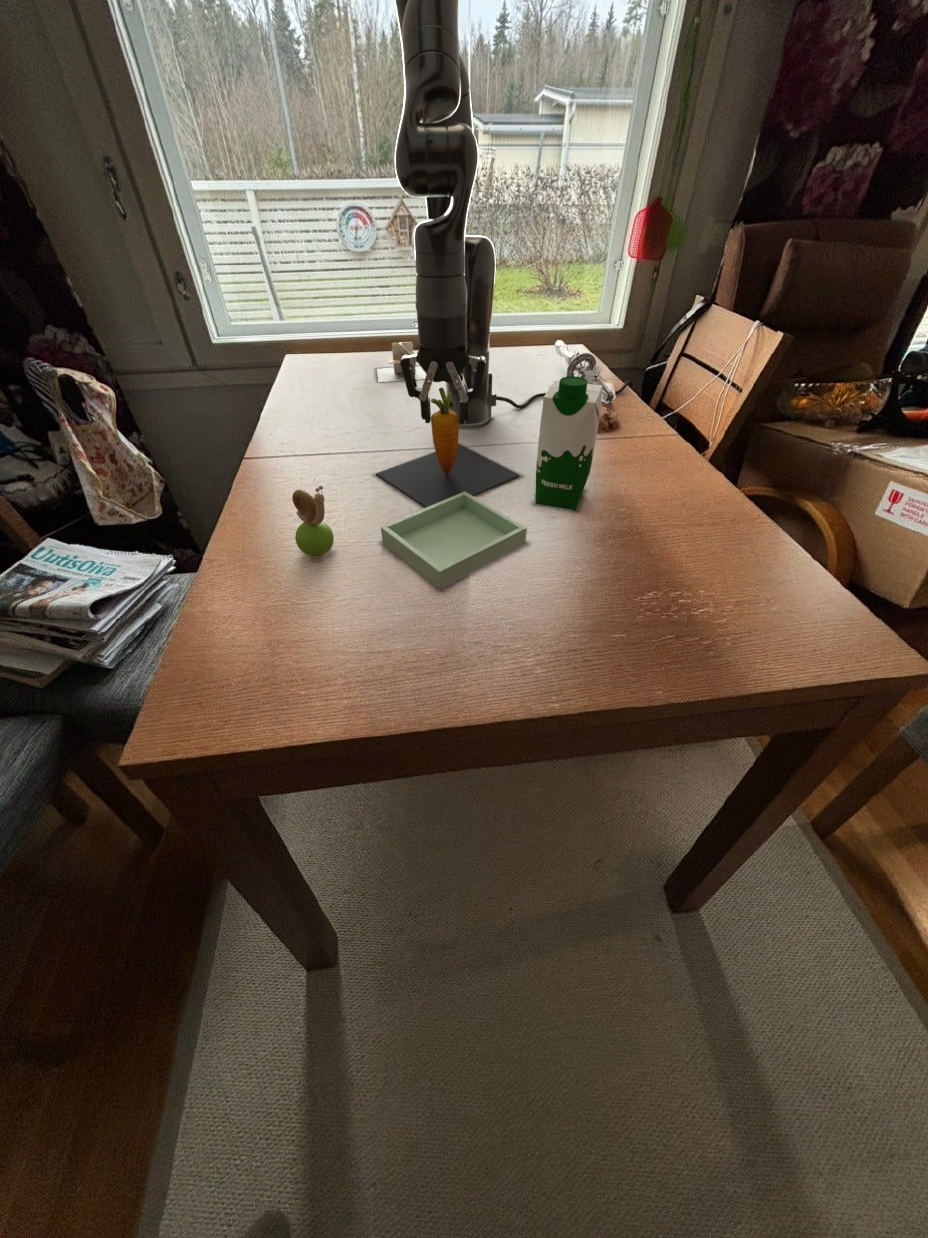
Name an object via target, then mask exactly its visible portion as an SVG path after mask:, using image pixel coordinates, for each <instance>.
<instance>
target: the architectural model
mask: <svg viewBox="0 0 928 1238" xmlns="http://www.w3.org/2000/svg"><path fill="white" fill-rule="evenodd" d="M413 345H414V344H413V341H403V342H401V341H400V342H391V351H392V358H388V363H389V365H393V367H384V368H383V367H382V368H381V367H380V368H376V373H377V381H378V383H384V382H385V383H386V382H387V383H388V382H401V381H403V382H404V381H405V379H404V376H403V372H402V368H401V364H400V361H401V359H402V357H403V356H404V355H406V354H407V355H409V356H411V355H415V353H414V347H413ZM413 371H414V375H415V380H416V381H417V380H418V381H419V380H425V378H426V375H427V374H426V373H425V372H424V370H423V369H422V368H421V366H420V365H416V367H415V369H414V370H413Z"/></svg>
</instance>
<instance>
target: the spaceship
mask: <svg viewBox="0 0 928 1238" xmlns="http://www.w3.org/2000/svg"><path fill="white" fill-rule="evenodd" d="M554 349H555V352H556V353H557V354H558V355H559V357H561V358H564V360H565V362H566V365H567V367H566V377H568V376H575V375H577V376H576V377H581V378H584V379H586V380H587V382H588V383H587V384H592V385H602V394H601V403H604V404H606V406H607V405H610V406H612V405H613V404H612V401H614V400H616V399H617V398H616V395H615V391H616V390H615V387H614V385H613V383H611V382H606V380H605V379H604V378H603V377H602V376H601V375H600V373H601V371H602V369H603V368H602V367H600V365H599V364H598V363H597V360H596V357H595V356H594V355H593V354H591V353H589V352H583V353H580V352H579V351H578V350H575V352H571V351H569V348H568V345H567V344H566V343H565V342H564V341H563V340H562V339H561V340H560V339H558V340H556V341H555V343H554ZM586 364H588V365H586ZM602 380H603V381H604V382H603V381H602Z"/></svg>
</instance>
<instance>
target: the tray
mask: <svg viewBox="0 0 928 1238" xmlns="http://www.w3.org/2000/svg"><path fill="white" fill-rule="evenodd" d="M527 530H528V528H527V527H526V526H525V525H523V524H521V523H520V522H518V521H516V520H514V519H512V518H511V517H509V516H508V515H505V514H504V513H502V512H501V511H499V510H497V509H496V508H494V507H492V506H490V505H488V504H487V503H485V502H484V501H482V500H480V499H479V498H477V497H476V496H474V497H473V496H472V495H470V494H468V493H467V492H462V493H460V494H457V495H455V496H453V497H450V498H448V499H446V500H443V501H441V502H438V503H436V504H434V505H431V506H429V507H427V508H425V507H424V508H422V509H420V510H418V511H415V512H412V513H410V514H408V515H406V516H402V517H401V518H398V519H396V520H393V521H391V522H389V523H386V524H384V525H382V526H380V532H381V533H380V534H381V538H382V544H383V545H384V546H385V547H387V548H388V549H389V550H391V551H392V552H393V553H394V554H396V555H397V556H398V557H400V558H401V560H403V561H405V563H407V564H408V565H410V566H411V567H412V568H413V569H415V570H416V571H417V572H418V573H419V574H421V575H422V576H423V577H424V578H426V579H427V580H428V581H430V582H431V583H432V584H433V585H435V586H436V587H437V588H438V589H440V590H441V589H443V588H445V587H447V586H449V585H451V584H453V583H454V582H456V581H459V580H460V579H462V578H464V577H466V576H468V575H469V574H472V573H473V572H476V571H478V570H480V569H481V568H484V567H485V566H487V565H489V564H491V563H492V562H495V561H497V560H498V559H500V558H502V557H504V556H506V555H508V554H510V553H512V552H514V551H515V550H517V549H520V548H521V547H523V546H525V545H526V540H527Z"/></svg>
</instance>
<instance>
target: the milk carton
mask: <svg viewBox="0 0 928 1238" xmlns="http://www.w3.org/2000/svg"><path fill="white" fill-rule="evenodd" d="M587 383H588V382H587V380H586V379H584V378H581V377H580V376H579V377H577V376H575V375H574V376H568V377H567V376H564V377H561V378H560V379H559V380H553V383H551V384H550V385H549V386H548V389H547V391H546V392H545V393H546V394H545V396H543V399H542V409H541V415H540V416H541V417H540V423H539V432H538V433H539V434H538V445H537V455H536V463H535V464H536V465H535V466H536V467H535V505H539V506H545V507H551V508H558V509H564V510H571V511H577V508H578V506H579V503H580V501H581V497H582V495H583V492H584V489H585V487H586V484H587V482H588V479H589V476H590V474H591V469H592V465H593V458H594V453H595V447H596V441H597V435H598V431H599V430H598V424H599V417H600V415H601V406H602V402H601V394H602V385H592V384H587Z"/></svg>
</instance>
